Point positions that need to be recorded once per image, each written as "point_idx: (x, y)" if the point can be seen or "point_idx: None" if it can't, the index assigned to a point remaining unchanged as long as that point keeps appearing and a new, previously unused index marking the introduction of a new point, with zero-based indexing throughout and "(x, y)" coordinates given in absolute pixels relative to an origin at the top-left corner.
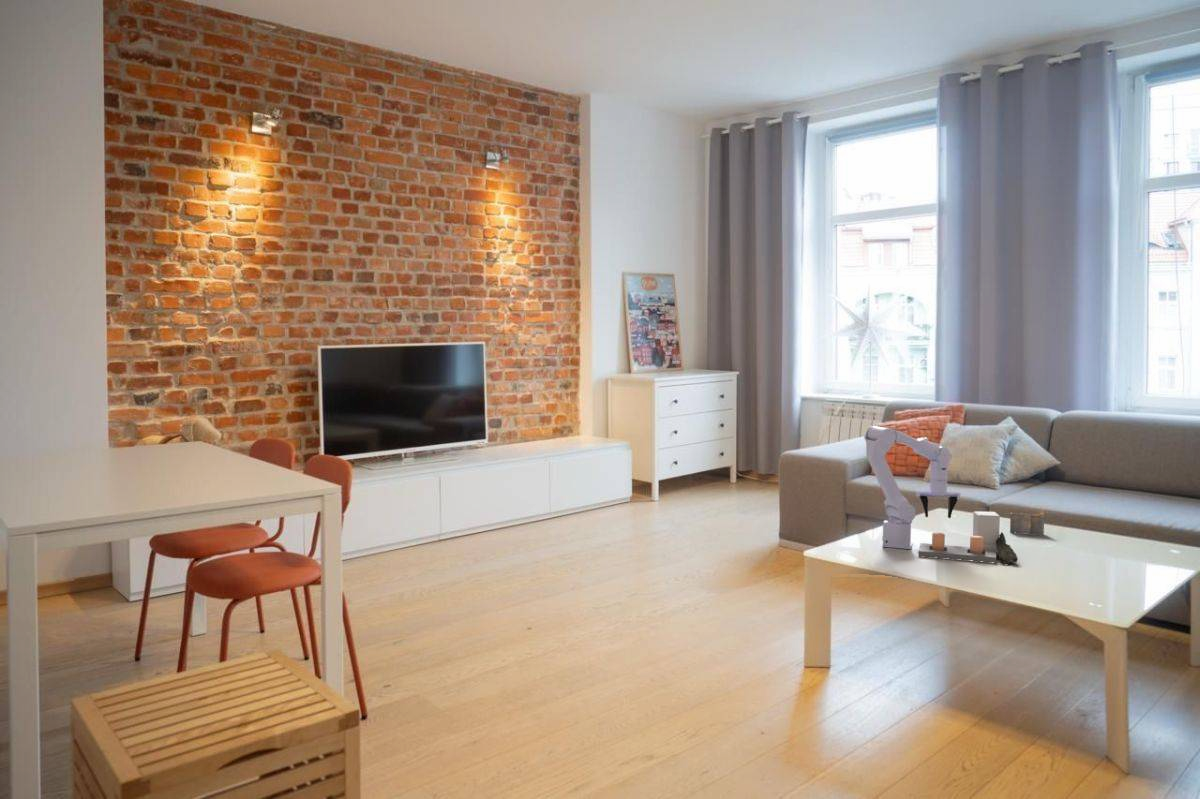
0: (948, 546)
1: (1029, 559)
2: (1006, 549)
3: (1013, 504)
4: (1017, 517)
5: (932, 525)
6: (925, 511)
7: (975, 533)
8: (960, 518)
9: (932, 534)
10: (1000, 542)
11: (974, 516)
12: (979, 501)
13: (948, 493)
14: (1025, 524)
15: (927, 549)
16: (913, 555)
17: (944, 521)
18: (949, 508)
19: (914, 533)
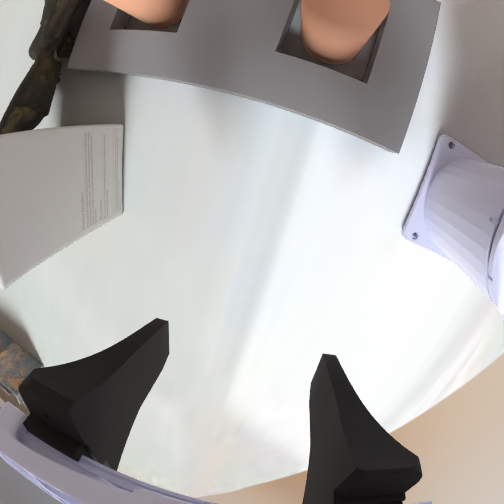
0: (261, 70)
1: (22, 51)
2: (52, 2)
3: None
4: (9, 380)
5: (213, 455)
6: (350, 384)
7: (77, 167)
8: (144, 469)
9: (388, 2)
10: (33, 75)
11: (14, 239)
12: None
13: (61, 486)
14: (6, 360)
15: (396, 16)
16: (446, 36)
17: (178, 467)
18: (130, 369)
19: (303, 404)
